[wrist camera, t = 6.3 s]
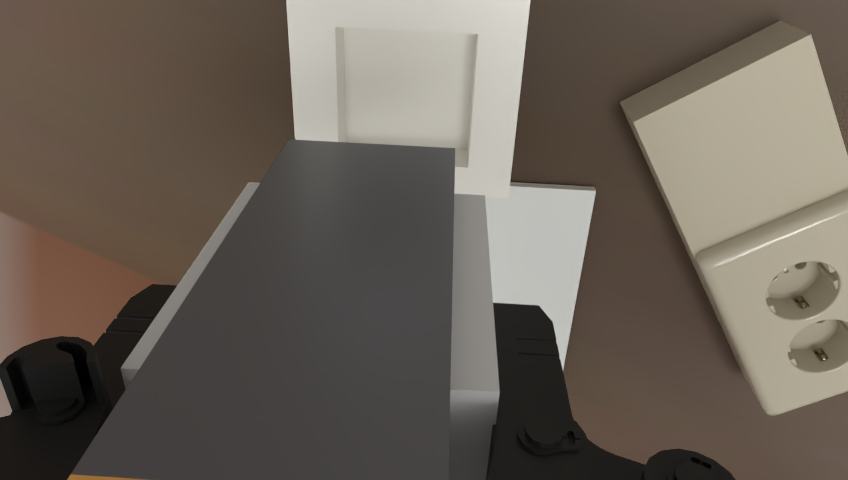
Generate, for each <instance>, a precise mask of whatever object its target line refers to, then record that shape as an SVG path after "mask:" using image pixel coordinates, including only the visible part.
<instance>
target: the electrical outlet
mask: <svg viewBox="0 0 848 480" xmlns="http://www.w3.org/2000/svg"><path fill="white" fill-rule="evenodd" d="M619 103H620V105H621V107H622V109H623V112H624V114H625V116H626V118H627V120H628V123H629V125H630V127H631V129H632V131H633V134H634V136H635V138H636V140H637V142H638V145H639V147H640V149H641V151H642V153H643V156H644V158H645V160H646V162H647V164H648V167H649V169H650V171H651V173H652V176H653V178H654V180H655V182H656V184H657V187H658V189H659V191H660V193H661V195H662V198H663V200H664V202H665V204H666V206H667V209H668V211H669V213H670V215H671V217H672V220H673V222H674V224H675V226H676V228H677V231H678V233H679V235H680V237H681V239H682V242H683V244H684V246H685V248H686V250H687V253H688V255H689V257H690V259H691V261H692V264H693V266H694V268H695V270H696V272H697V275H698V277H699V279H700V281H701V284H702V286H703V288H704V290H705V292H706V295H707V297H708V299H709V301H710V303H711V306H712V308H713V310H714V312H715V314H716V317H717V319H718V321H719V323H720V325H721V328H722V330H723V332H724V334H725V336H726V339H727V341H728V343H729V345H730V347H731V350H732V352H733V354H734V356H735V358H736V361H737V363H738V365H739V367H740V369H741V371H742V373H743V375H744V377H745V378H746V380H747V382H748V384H749V386H750V387H751V389H752V391H753V393H754V394H755V396H756V398H757V400H758V402H759V403H760V405H761V407H762V409H763V410H764V412H765V413H766V414H768V415H770V416H774V415H778V414H782V413H785V412H788V411H791V410H794V409H797V408H799V407H802V406H805V405H808V404H811V403H814V402H817V401H820V400H823V399H826V398H829V397H832V396H835V395H838V394H841V393H844V392H847V391H848V155H847V152H846V149H845V145H844V142H843V139H842V135H841V132H840V129H839V125H838V122H837V119H836V115H835V112H834V109H833V105H832V102H831V99H830V96H829V92H828V89H827V86H826V82H825V79H824V76H823V72H822V69H821V66H820V62H819V59H818V56H817V52H816V49H815V46H814V42H813V39H812V36H811V34H809V33H807V32H805V31H803V30H801V29H798V28H796V27H794V26H792V25H789V24H787V23H785V22H783V21H781V20H780V21H778V22H776V23H774V24H772V25H770V26H768V27H766V28H764V29H762V30H760V31H758V32H756V33H755V34H753V35H751V36H749V37H747V38H745V39H743V40H741V41H739V42H737V43H735V44H733V45H731V46H729V47H727V48H725V49H723V50H721V51H719V52H717V53H715V54H713V55H711V56H709V57H707V58H705V59H703V60H701V61H699V62H697V63H695V64H694V65H692V66H690V67H688V68H686V69H684V70H682V71H680V72H678V73H676V74H674V75H672V76H670V77H668V78H666V79H664V80H662V81H660V82H658V83H656V84H654V85H652V86H650V87H648V88H646V89H644V90H642V91H640V92H638V93H636V94H634V95H632V96H631V97H629V98H627V99H625V100H623V101H621V102H619Z"/></svg>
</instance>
